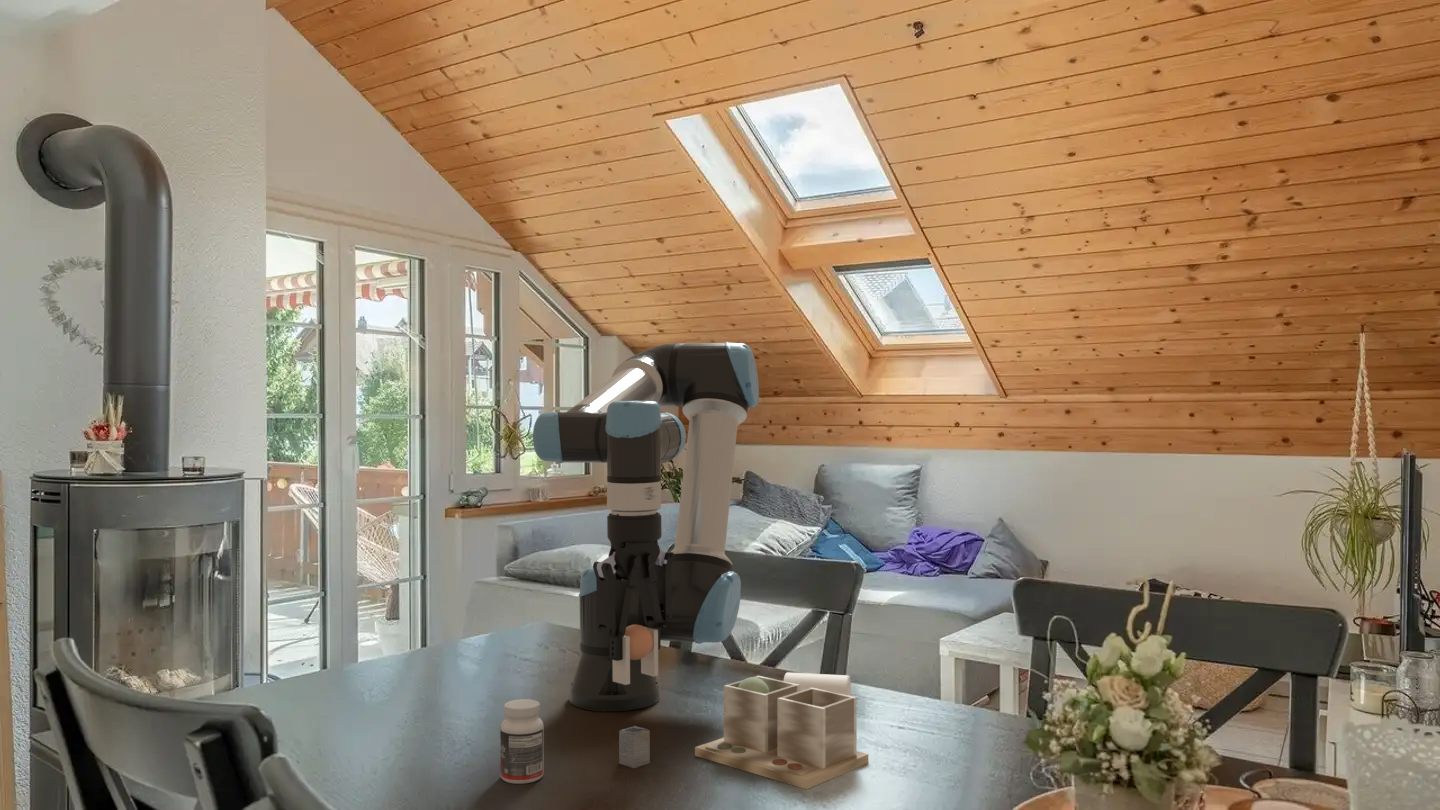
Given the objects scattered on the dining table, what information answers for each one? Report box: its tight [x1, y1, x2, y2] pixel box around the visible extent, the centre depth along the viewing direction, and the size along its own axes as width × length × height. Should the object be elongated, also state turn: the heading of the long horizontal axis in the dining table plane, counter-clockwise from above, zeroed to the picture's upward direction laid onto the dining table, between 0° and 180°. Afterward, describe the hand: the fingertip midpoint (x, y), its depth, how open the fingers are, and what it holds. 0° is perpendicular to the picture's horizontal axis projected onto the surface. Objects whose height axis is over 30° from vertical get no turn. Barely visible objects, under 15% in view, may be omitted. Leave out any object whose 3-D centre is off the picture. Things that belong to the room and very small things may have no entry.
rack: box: [694, 675, 869, 790], centre depth 153 cm, size 20×14×9 cm
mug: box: [782, 672, 852, 696], centre depth 171 cm, size 12×10×8 cm
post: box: [618, 725, 651, 769], centre depth 152 cm, size 3×3×5 cm
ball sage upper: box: [738, 676, 769, 694], centre depth 158 cm, size 5×5×5 cm
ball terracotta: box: [625, 625, 653, 660], centre depth 152 cm, size 5×5×5 cm
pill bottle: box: [499, 698, 545, 785], centre depth 146 cm, size 6×6×10 cm
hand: (635, 678), depth 152 cm, fingers closed on ball terracotta, 5 cm apart
